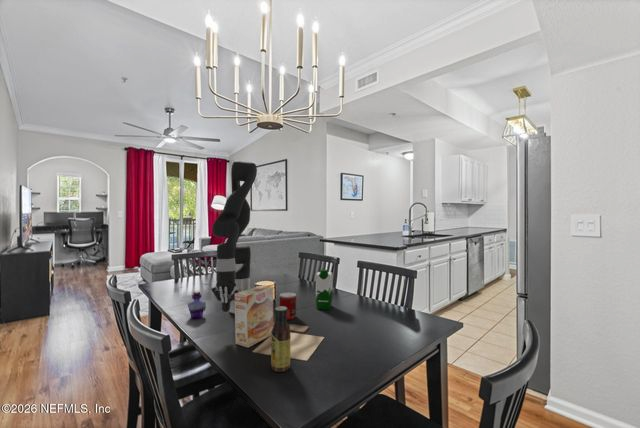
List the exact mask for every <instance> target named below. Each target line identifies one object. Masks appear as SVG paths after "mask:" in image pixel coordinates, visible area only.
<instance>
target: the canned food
mask: <svg viewBox="0 0 640 428" xmlns="http://www.w3.org/2000/svg"><path fill="white" fill-rule="evenodd" d="M280 306H284V307H287V321H289V320H290V321H291V320H295V319H296V317H297V293H295V292H288V291H287V292H281V293H280V294H279V307H280Z"/></svg>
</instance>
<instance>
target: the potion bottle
mask: <svg viewBox="0 0 640 428" xmlns="http://www.w3.org/2000/svg"><path fill="white" fill-rule="evenodd" d="M191 299H192V301H189V302H187V308H188V311H189V315H190V319H191V320H201V319H202V318H203V316H204V312H205V311H206V308H207V306H206V304H207V302H206V300H201V299H202V293H201V291H194V292H192V295H191Z"/></svg>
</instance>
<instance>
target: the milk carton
mask: <svg viewBox="0 0 640 428" xmlns="http://www.w3.org/2000/svg"><path fill="white" fill-rule="evenodd" d="M333 284H334V283H333V272H332V271H331V272H330V271H328V269H320V270H319V271H317V273H316V274H315V304H316V305H315V306H316V310H331V307H332V302H333V293H334V292H333V286H334V285H333Z"/></svg>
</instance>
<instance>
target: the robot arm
mask: <svg viewBox="0 0 640 428" xmlns="http://www.w3.org/2000/svg"><path fill="white" fill-rule="evenodd" d="M257 174H258V168H257V165H256V163H255V162H249V161H242V160H234V161H233V162H232V164H231V171H230V175H231V176H230V177H231V178H230V179H231V193H230V194H229V196H228V197H227V198H226V201H225V204H224V207H223V209H222V211H221V212H220V213H219V215H218V216H217V218H216V219H215V220H214V222H213V224H212V226H211V227H212V228H211V231H212V234H213V236H215V237H216V238H226V241H225V242H224V243H219V244H217V246H216V264H215V267H216V270H215V271H216V274H215V277H216V278H215V279H216V284H215V286H214V287H212V288H211V291H212V293H213V295H214V296H215V298H216V300H217V301H218V302H221V310H222V312H223V313H227V312H228V313H231V314H234V315H235V293H238V292H242V291H245V290H248V289H251V277H250V276H251V260H252V259H251V257H252V253H251V252H252V251H251V247H250V246H249V245H247V244H246V245H244V244H243V245H241V244H240V245H238V244H237V243H238V240H239V238H240V237H241V235H242V234H243V232H244V231H245V230H246V228H247V227H248V226H249V223H250V220H251V206H250V205H249V203H248V200H247V199H246V198H247V196H248V194H249V192H250V190H251V188H252V186H253V185H254V184H255V183H254V182H255V181H256V178H257ZM241 182H243V183H242V184H241ZM236 265H241V266H240V267H239V268H237V267H236ZM236 268H237V269H236Z"/></svg>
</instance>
